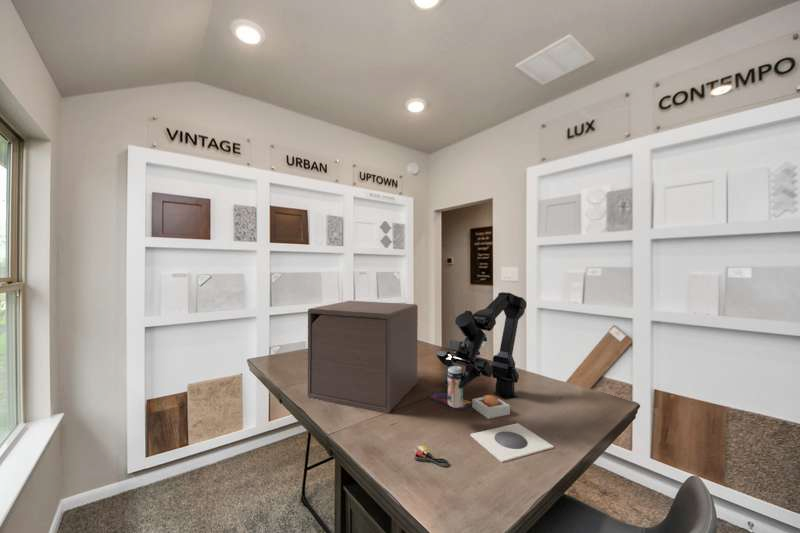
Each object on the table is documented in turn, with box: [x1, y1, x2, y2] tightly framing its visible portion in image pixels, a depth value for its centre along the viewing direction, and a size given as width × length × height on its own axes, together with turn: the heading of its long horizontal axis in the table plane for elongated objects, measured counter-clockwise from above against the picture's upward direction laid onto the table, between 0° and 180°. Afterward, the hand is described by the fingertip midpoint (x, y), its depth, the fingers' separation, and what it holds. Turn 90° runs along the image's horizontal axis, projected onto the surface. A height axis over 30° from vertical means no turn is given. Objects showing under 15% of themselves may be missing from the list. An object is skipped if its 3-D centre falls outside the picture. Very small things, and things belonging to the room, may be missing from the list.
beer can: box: [447, 365, 464, 409], centre depth 101 cm, size 5×5×12 cm
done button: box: [482, 394, 499, 407], centre depth 111 cm, size 5×5×2 cm
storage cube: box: [306, 300, 419, 414], centre depth 128 cm, size 34×29×34 cm
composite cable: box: [412, 444, 450, 468], centre depth 83 cm, size 10×5×2 cm, turn 50°
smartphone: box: [429, 391, 472, 411], centre depth 119 cm, size 7×15×1 cm, turn 47°
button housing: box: [471, 396, 511, 420], centre depth 111 cm, size 9×9×3 cm
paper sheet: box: [469, 422, 555, 463], centre depth 92 cm, size 18×14×1 cm
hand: (452, 385), depth 100 cm, fingers closed on beer can, 5 cm apart
